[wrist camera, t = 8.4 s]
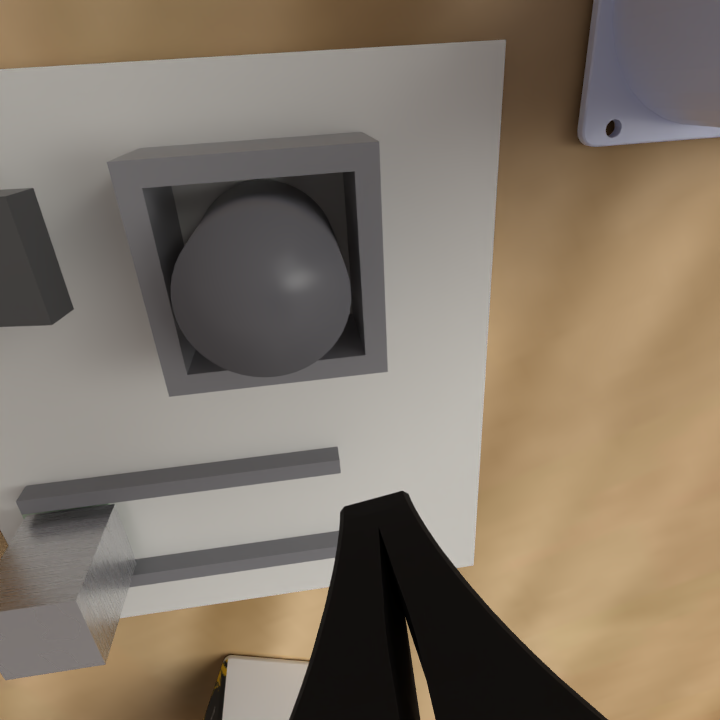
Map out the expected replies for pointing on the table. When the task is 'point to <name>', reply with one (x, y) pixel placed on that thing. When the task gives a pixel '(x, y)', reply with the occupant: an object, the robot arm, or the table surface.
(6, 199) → the rocker
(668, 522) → the table surface
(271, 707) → the medicine bottle
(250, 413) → the panel
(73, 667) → the slider knob
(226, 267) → the push button
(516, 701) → the robot arm
